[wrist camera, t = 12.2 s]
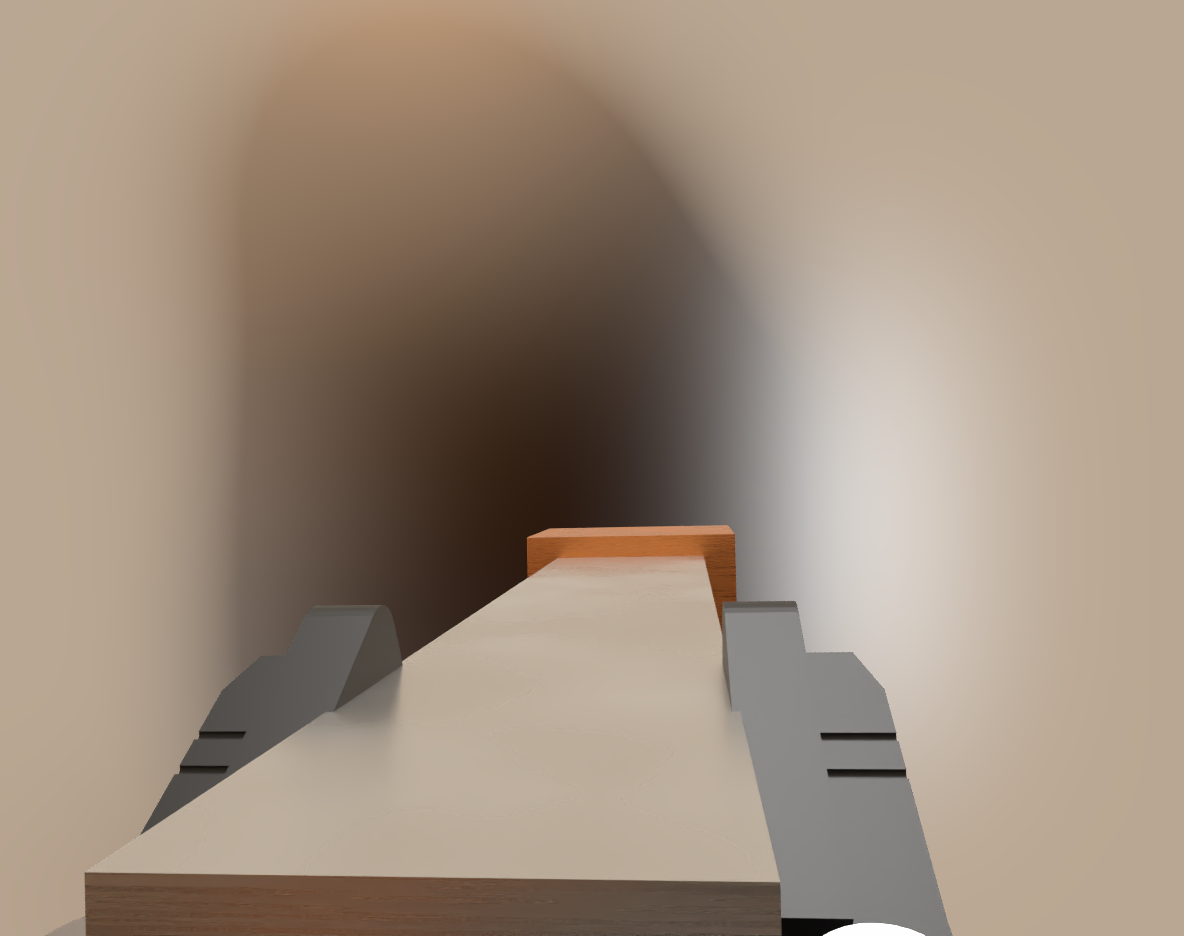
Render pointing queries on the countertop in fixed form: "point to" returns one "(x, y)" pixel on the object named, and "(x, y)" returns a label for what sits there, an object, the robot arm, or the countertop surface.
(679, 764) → the bar
